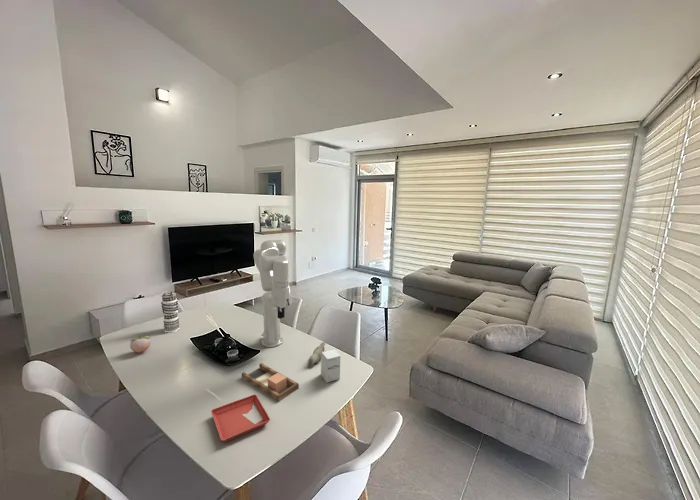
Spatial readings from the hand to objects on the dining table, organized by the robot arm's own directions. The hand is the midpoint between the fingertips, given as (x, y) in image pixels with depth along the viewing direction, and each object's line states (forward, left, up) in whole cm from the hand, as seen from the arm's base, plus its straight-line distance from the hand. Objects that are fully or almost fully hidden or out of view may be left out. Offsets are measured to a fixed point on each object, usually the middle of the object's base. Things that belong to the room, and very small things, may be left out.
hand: (281, 317), depth 153 cm
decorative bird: (+13, +14, -26) cm, 32 cm away
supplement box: (+28, +7, -26) cm, 39 cm away
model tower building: (-85, -18, -26) cm, 91 cm away
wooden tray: (+8, -15, -26) cm, 31 cm away
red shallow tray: (+19, -37, -26) cm, 49 cm away
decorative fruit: (-68, -41, -26) cm, 84 cm away
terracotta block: (+15, -15, -25) cm, 33 cm away
